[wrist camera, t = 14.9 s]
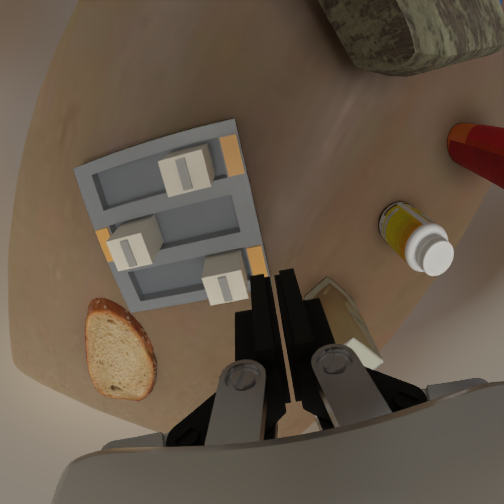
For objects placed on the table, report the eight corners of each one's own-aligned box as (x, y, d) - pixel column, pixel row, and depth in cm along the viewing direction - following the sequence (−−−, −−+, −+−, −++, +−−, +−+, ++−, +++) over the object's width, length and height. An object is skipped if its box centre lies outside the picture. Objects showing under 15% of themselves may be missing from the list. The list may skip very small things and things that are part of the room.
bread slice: (104, 287, 40) (94, 302, 36) (194, 364, 46) (192, 382, 43) (50, 341, 44) (41, 355, 41) (128, 401, 50) (123, 417, 47)
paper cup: (476, 177, 34) (547, 213, 21) (435, 166, 33) (511, 202, 21) (485, 122, 31) (562, 144, 18) (445, 106, 30) (526, 120, 17)
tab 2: (206, 253, 36) (201, 279, 31) (240, 246, 36) (241, 271, 31) (214, 278, 37) (210, 307, 32) (247, 271, 37) (248, 299, 32)
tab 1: (123, 221, 34) (104, 243, 29) (154, 213, 34) (140, 233, 28) (133, 248, 35) (117, 272, 30) (163, 241, 35) (151, 265, 30)
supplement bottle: (376, 244, 38) (412, 287, 29) (378, 202, 35) (419, 236, 26) (413, 239, 38) (455, 278, 29) (416, 199, 35) (463, 230, 26)
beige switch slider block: (170, 152, 31) (156, 162, 26) (207, 142, 31) (201, 149, 25) (179, 182, 32) (167, 198, 27) (215, 173, 32) (211, 187, 27)
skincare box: (355, 300, 41) (386, 363, 30) (331, 320, 43) (356, 385, 32) (325, 274, 39) (354, 337, 28) (301, 296, 41) (320, 363, 30)
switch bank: (83, 163, 32) (72, 169, 29) (234, 117, 31) (234, 118, 28) (136, 300, 40) (130, 314, 37) (269, 274, 39) (272, 287, 36)
